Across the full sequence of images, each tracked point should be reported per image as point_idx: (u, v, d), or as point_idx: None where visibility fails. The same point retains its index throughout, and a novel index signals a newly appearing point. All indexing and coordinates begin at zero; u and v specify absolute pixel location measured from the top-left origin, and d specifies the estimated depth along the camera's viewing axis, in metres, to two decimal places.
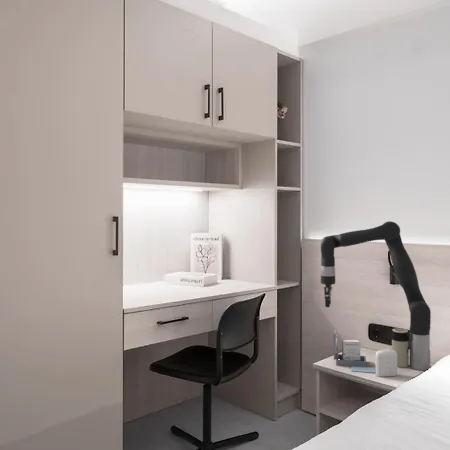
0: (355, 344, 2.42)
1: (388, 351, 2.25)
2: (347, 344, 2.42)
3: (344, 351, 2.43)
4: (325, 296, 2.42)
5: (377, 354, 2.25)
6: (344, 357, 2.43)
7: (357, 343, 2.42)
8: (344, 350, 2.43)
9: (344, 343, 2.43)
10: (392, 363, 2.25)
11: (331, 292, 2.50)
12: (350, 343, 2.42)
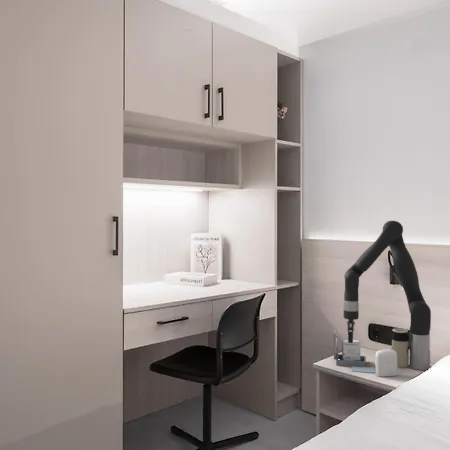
0: (355, 344, 2.42)
1: (388, 351, 2.25)
2: (347, 344, 2.42)
3: (344, 351, 2.43)
4: (348, 332, 2.38)
5: (377, 354, 2.25)
6: (344, 357, 2.43)
7: (357, 343, 2.42)
8: (344, 350, 2.43)
9: (344, 343, 2.43)
10: (392, 363, 2.25)
11: None
12: (350, 343, 2.42)
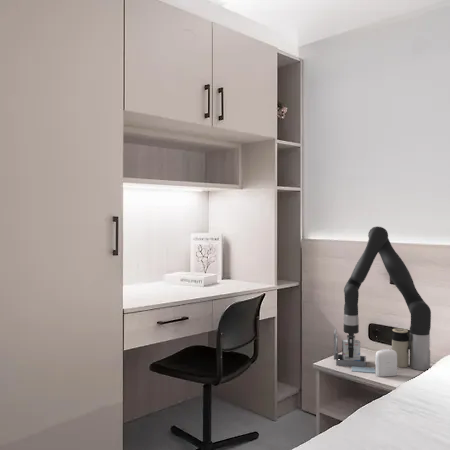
0: (355, 344, 2.42)
1: (388, 351, 2.25)
2: (347, 344, 2.42)
3: (344, 351, 2.42)
4: None
5: (377, 354, 2.25)
6: (344, 357, 2.43)
7: (357, 343, 2.42)
8: (344, 350, 2.42)
9: (344, 343, 2.42)
10: (392, 363, 2.25)
11: None
12: None
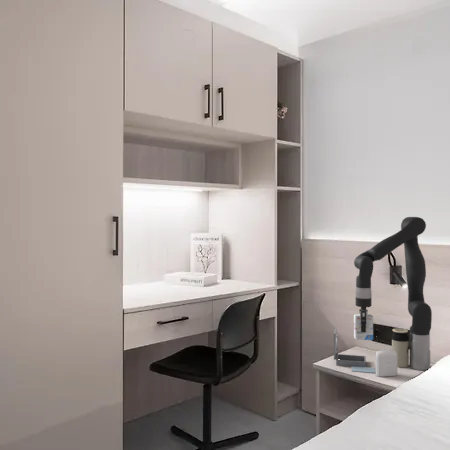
0: (368, 318, 2.31)
1: (388, 351, 2.25)
2: (359, 318, 2.32)
3: (356, 325, 2.32)
4: (361, 321, 2.28)
5: (377, 354, 2.25)
6: (356, 331, 2.32)
7: (370, 317, 2.31)
8: (356, 324, 2.32)
9: (356, 317, 2.32)
10: (392, 363, 2.25)
11: None
12: None
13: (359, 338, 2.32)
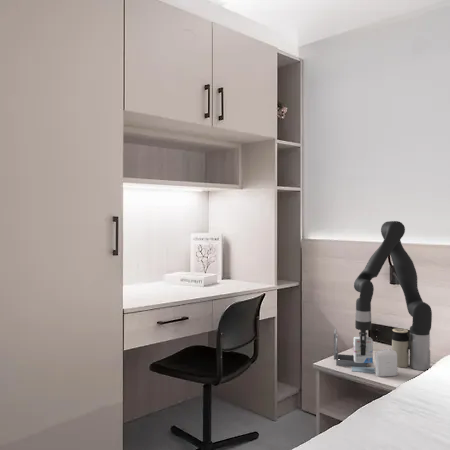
0: (367, 342, 2.32)
1: (388, 351, 2.25)
2: (359, 341, 2.32)
3: (356, 348, 2.32)
4: (361, 345, 2.29)
5: (377, 354, 2.25)
6: (355, 354, 2.32)
7: (369, 340, 2.31)
8: (356, 347, 2.32)
9: (356, 340, 2.32)
10: (392, 363, 2.25)
11: None
12: None
13: (359, 361, 2.32)
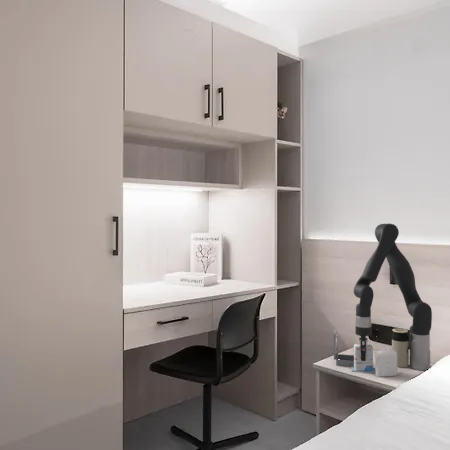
0: (367, 349, 2.32)
1: (388, 351, 2.25)
2: (359, 349, 2.32)
3: (356, 356, 2.33)
4: (361, 350, 2.28)
5: (377, 354, 2.25)
6: (355, 362, 2.33)
7: (370, 348, 2.32)
8: (356, 355, 2.33)
9: (356, 348, 2.33)
10: (392, 363, 2.25)
11: None
12: None
13: (359, 369, 2.32)
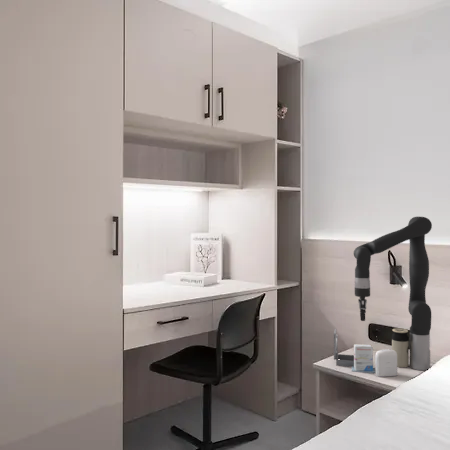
0: (367, 349, 2.32)
1: (388, 351, 2.25)
2: (359, 349, 2.32)
3: (356, 356, 2.33)
4: (361, 309, 2.31)
5: (377, 354, 2.25)
6: (355, 362, 2.33)
7: (370, 348, 2.32)
8: (356, 355, 2.33)
9: (356, 348, 2.33)
10: (392, 363, 2.25)
11: None
12: (362, 348, 2.32)
13: (359, 369, 2.32)
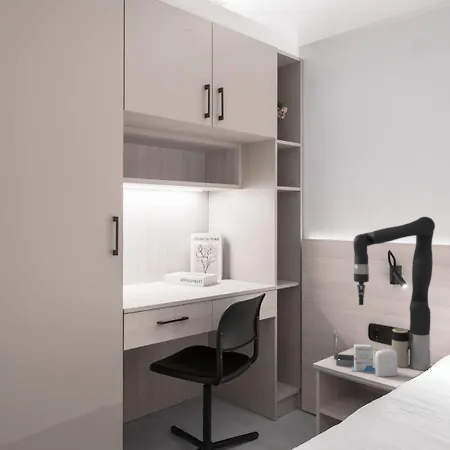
0: (367, 349, 2.32)
1: (388, 351, 2.25)
2: (359, 349, 2.32)
3: (356, 356, 2.33)
4: (359, 294, 2.41)
5: (377, 354, 2.25)
6: (355, 362, 2.33)
7: (370, 348, 2.32)
8: (356, 355, 2.33)
9: (356, 348, 2.33)
10: (392, 363, 2.25)
11: None
12: (362, 348, 2.32)
13: (359, 369, 2.32)
